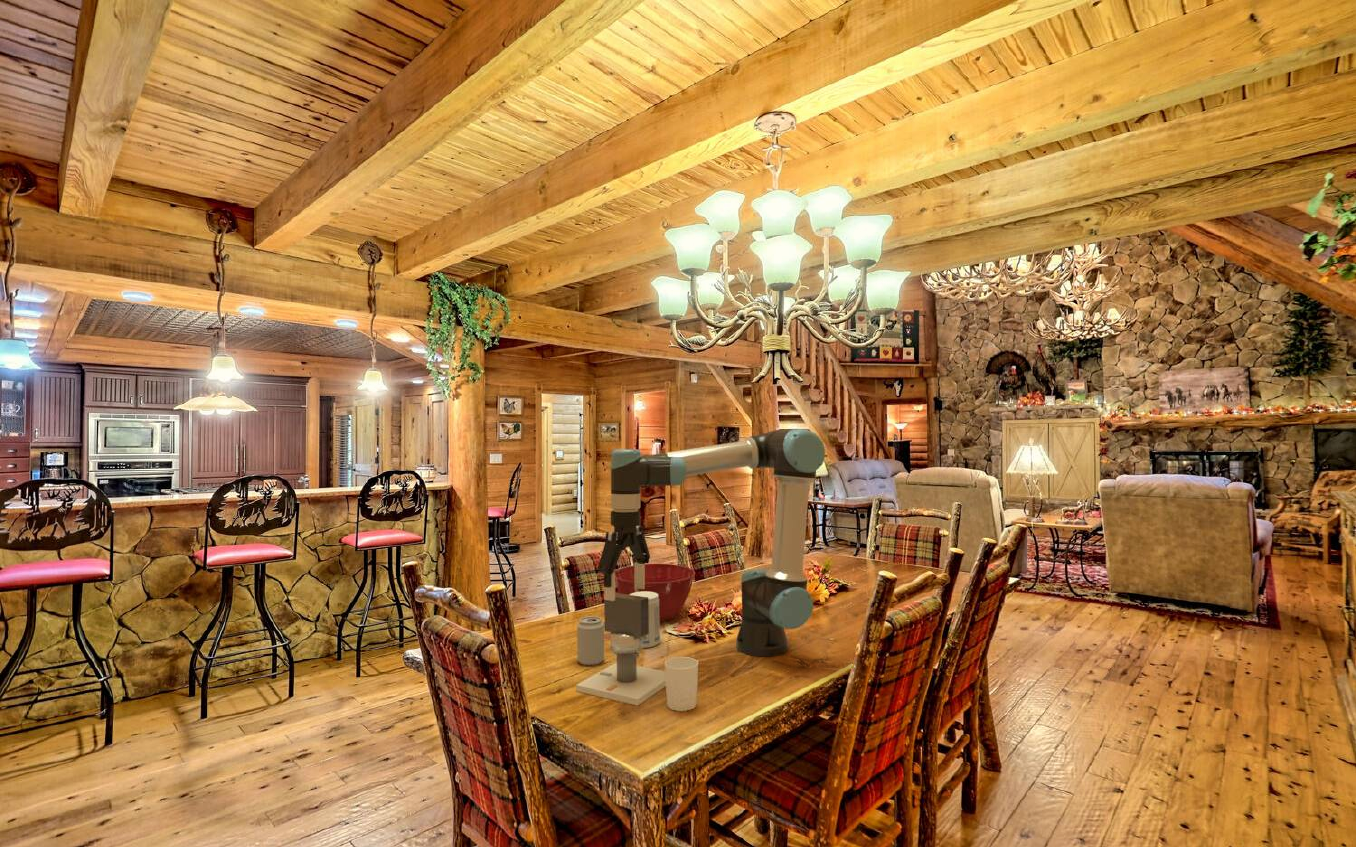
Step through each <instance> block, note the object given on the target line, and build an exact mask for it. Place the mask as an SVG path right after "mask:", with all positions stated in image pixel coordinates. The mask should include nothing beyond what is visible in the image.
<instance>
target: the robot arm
mask: <svg viewBox="0 0 1356 847" xmlns="http://www.w3.org/2000/svg"><path fill="white" fill-rule="evenodd" d="M610 456H611V459H610V509H611V511H610V525H611V526H612V527H613V532H612V531H606V533H605V542H604V544H603V548H602V551H601V552H602V553H601V556H600V559H599V560H600V561H599V563H598V567H597V572H599V573H600V574H603V587H604V588H603V590H604V591H603V597H604V598H603V600H610V601H615V593H616V581H615V573H614V572H615V568H616V567H617V564H618V562H619V559H620V556H622V555H621V554H622V552H623V551H624V550H625V549H626V548H629V550H630V552H631V554H632V555H633V557H634V559H635V562H634V565H635V578H634V588H638V589H645V564H650V563H649V562H650V559H651V555H650V550H649V548H648V544H647V540H646V536H645V531H644V530H645V528H644V527H645V526H644V525H641V511H640V508H641V487H651V486H654V487H655V486H656V487H657V486H658V487H660V486H661V487H664V486H665V487H666V486H671V487H673V486H681V485H683V484H684V483H685V482H686V478H687V477H691V476H696V475H703V474H708V473H709V474H710V473H714V472H719V471H726V470H733V469H740V468H745V467H748V468H750V469H752V470H755V469H762V468H763V469H765V468H766V469H773V474H772V476H773V478H775V480H776V481H777V492H776V493H777V494H776V504H775V506H776V507H775V517H774V530H773V540H772V541H773V542H772V553H771V566H770V568H753V569H746V570H744V571H743V572H742V573H741V583H740V584H741V617H742V618H741V623H740V625H739V626H740V627H739V630H738V633H737V636H736V641H735V642H736V649H737V650H738V651H740V653H744V654H746V655H750V656H756V657H757V656H758V657H772V656H779V655H781V654H784V653H786V652H787V651H788V650H789V641H788V638H787V635H786V634H787V633H786V631H785V630H794V629H798V628H800V627H802V626H804V624H805V623H807V622H808V620H809V619H810V618H811V616H812V614H813V609H814V600H813V597H812V595H811V594H810V592H809V591H808V577H807V576H806V574H805V573H804V572H803V569H804V558H805V556H804V555H805V542H806V541H805V540H806V533H807V532H806V530H807V519H808V518H807V517H808V506H809V495H810V494H809V492H810V485H811V484H812V483H813V482H815V480H816V475H817V471H818V470H819V468H820V467H821V466H822V465H823V463H824V461H825V458H826V449H825V446H824V443H823V441H822V439H821V438H820V437H819V436H818V435H817V434H816V433H815V432H814V431H811V430H808V429H803V428H792V429H791V428H790V429H788V428H787V429H783V428H782V429H776V430H772V431H768V432H765V433H760V434H758V435H757V434H755V435H752V436H747V437H745V438H744V440H741V441H735V442H727V443H721V444H713V445H708V446H707V445H706V446H702V447H695V448H687V449H681V450H675V451H669V452H663V453H656V454H643V455H642V454H641V450H640V449H626V448H625V449H619V448H618V449H614V450H613V451H612V452H611V455H610Z"/></svg>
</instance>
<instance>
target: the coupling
mask: <svg viewBox="0 0 1356 847" xmlns="http://www.w3.org/2000/svg"><path fill="white" fill-rule="evenodd" d="M603 600H604V599H603ZM603 604H604V606H603V607H604V614H603V616H604V632H607V634H604V640H608V641H609V640H610V650H611V651H612V652H613V653H614V652H616V653H622V654H628V653H635V652H637V653H639V652H640V651H641V650H643V648H642V637H643V636H645V635H647V634H649V599H648V597H641V596H634V595H627V594H620V593H619V592H615V601H610V600H604V603H603ZM609 633H610V634H609Z"/></svg>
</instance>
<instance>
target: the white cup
mask: <svg viewBox="0 0 1356 847" xmlns="http://www.w3.org/2000/svg"><path fill="white" fill-rule="evenodd" d="M664 671H665V683H666V686H665V693H666V706H667V707H668V708H669V709H670V710H671V711H674V710H676V711H675V712H688V711H687V710H689V711H692V710H693V709H695V708H696V706H697V695H698V680H699V679H698V678H699V677H698V676H699V674H698V673H699V661H698V660H697V659H695V658H693V657H688V656H675V657H670V658H668V659H666V660H665V661H664ZM691 709H692V710H691Z"/></svg>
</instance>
